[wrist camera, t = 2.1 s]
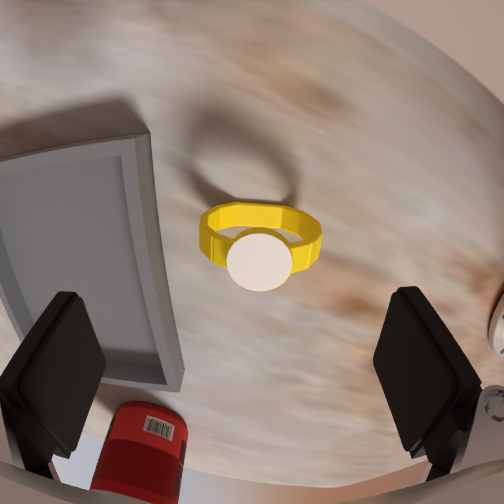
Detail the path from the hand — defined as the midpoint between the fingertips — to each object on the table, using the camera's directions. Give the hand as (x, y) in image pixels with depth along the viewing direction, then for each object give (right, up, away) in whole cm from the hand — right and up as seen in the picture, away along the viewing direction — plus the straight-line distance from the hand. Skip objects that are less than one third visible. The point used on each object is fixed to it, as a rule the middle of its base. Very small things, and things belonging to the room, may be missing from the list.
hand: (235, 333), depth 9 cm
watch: (+1, +5, +9) cm, 11 cm away
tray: (-12, +1, +11) cm, 17 cm away
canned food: (-10, -15, +20) cm, 27 cm away
